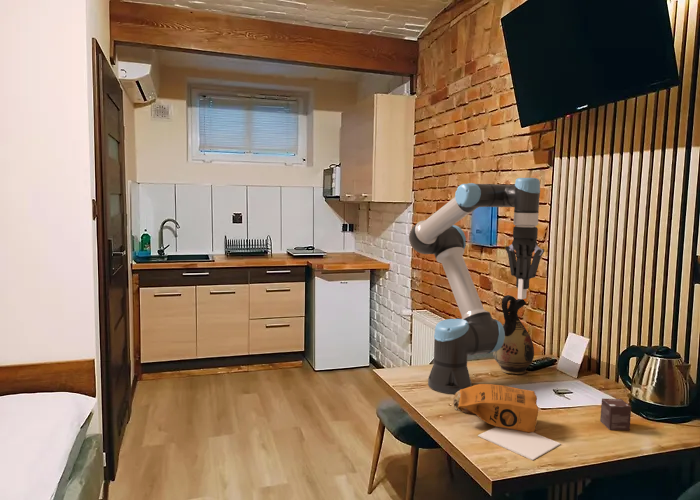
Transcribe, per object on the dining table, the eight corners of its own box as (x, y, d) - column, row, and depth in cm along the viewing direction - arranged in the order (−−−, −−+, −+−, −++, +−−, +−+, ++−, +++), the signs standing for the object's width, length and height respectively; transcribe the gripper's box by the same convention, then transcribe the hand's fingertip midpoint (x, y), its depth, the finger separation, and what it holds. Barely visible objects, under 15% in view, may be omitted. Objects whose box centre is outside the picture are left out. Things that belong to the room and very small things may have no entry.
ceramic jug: (507, 361, 211) (511, 290, 208) (541, 372, 198) (545, 296, 195) (480, 369, 201) (483, 294, 198) (513, 381, 188) (517, 301, 185)
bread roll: (450, 415, 166) (443, 396, 163) (469, 396, 171) (463, 377, 169) (474, 426, 158) (467, 406, 156) (493, 406, 163) (487, 386, 161)
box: (619, 421, 155) (621, 398, 154) (630, 430, 149) (632, 406, 148) (599, 421, 155) (601, 398, 154) (609, 430, 149) (610, 406, 148)
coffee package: (534, 439, 145) (455, 425, 150) (530, 414, 157) (458, 401, 162) (539, 409, 142) (459, 395, 147) (535, 386, 154) (461, 373, 159)
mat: (477, 436, 144) (477, 435, 144) (506, 422, 153) (506, 421, 153) (532, 460, 131) (532, 459, 131) (560, 444, 140) (560, 443, 140)
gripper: (550, 227, 162) (546, 300, 164) (514, 224, 172) (511, 294, 174) (537, 227, 157) (533, 303, 159) (501, 225, 167) (498, 296, 169)
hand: (521, 298), depth 167 cm, fingers closed
